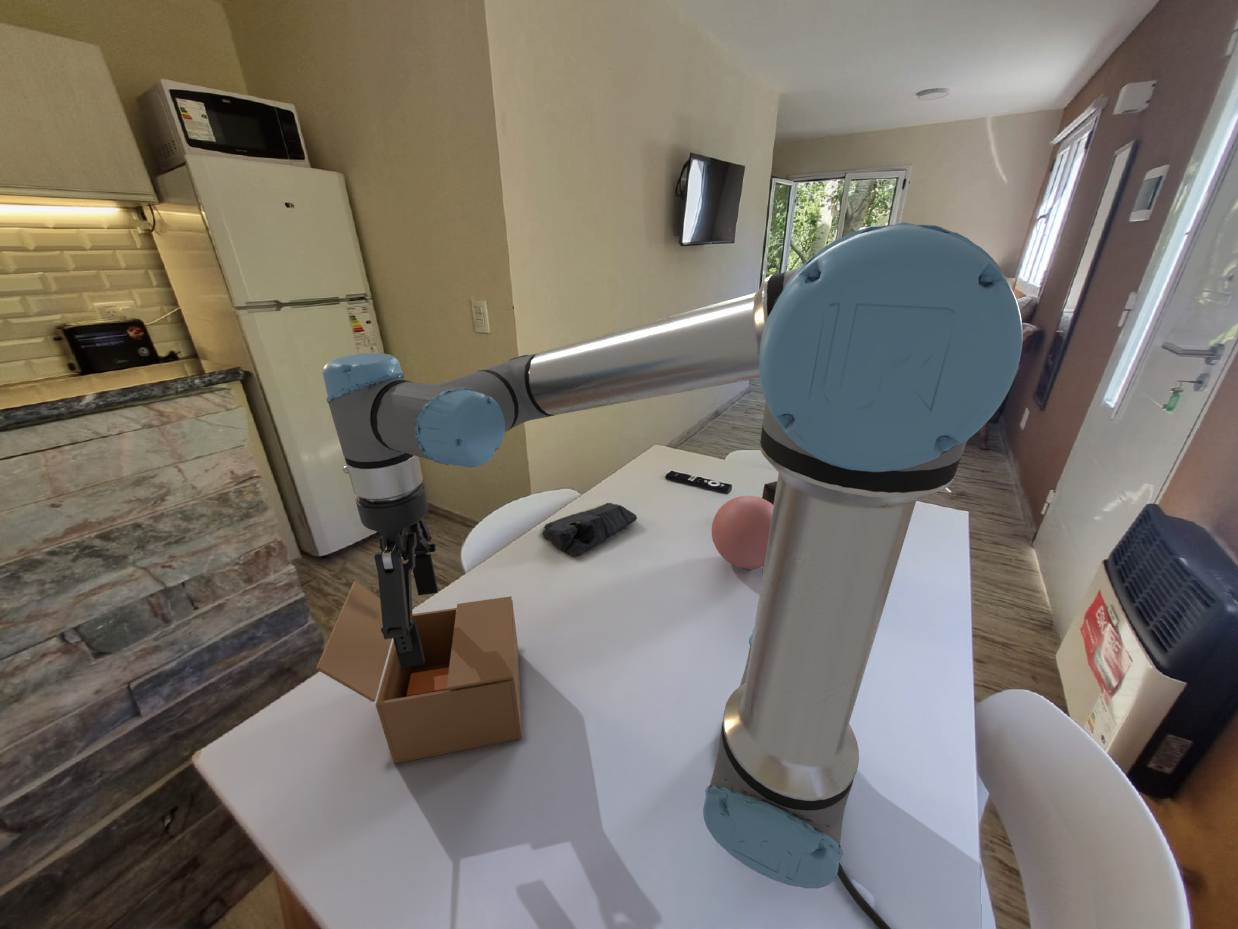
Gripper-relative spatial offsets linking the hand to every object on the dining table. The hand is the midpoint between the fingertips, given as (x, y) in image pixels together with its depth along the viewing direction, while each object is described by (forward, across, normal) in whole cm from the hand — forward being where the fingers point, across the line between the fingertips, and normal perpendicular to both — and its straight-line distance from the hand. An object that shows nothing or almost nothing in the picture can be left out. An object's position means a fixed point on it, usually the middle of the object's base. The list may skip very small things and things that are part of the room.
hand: (421, 625), depth 66 cm
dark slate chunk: (+16, -43, +30) cm, 55 cm away
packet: (+16, 0, 0) cm, 16 cm away
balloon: (+16, -24, +63) cm, 70 cm away
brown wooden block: (+16, -44, +86) cm, 98 cm away
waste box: (+16, 0, +3) cm, 16 cm away
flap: (0, 0, -7) cm, 7 cm away
